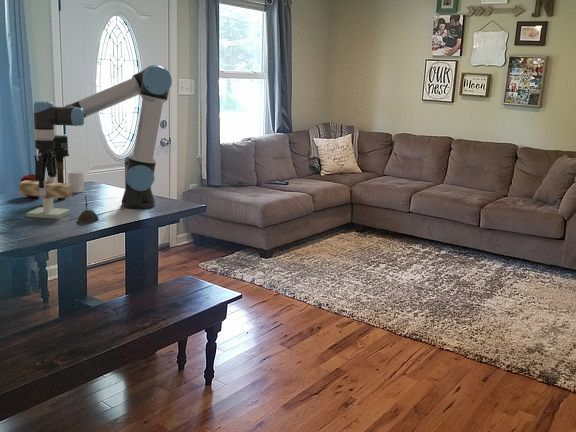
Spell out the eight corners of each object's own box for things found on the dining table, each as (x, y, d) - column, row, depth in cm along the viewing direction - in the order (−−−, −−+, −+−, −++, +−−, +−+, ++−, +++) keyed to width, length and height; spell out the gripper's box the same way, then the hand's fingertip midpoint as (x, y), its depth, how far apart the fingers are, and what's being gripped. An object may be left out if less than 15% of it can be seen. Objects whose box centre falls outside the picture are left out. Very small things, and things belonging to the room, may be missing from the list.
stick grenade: (64, 202, 277) (61, 137, 270) (48, 200, 279) (44, 136, 271) (74, 198, 285) (72, 136, 278) (58, 197, 287) (55, 134, 279)
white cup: (64, 191, 298) (63, 172, 296) (75, 189, 305) (75, 170, 303) (77, 193, 295) (76, 174, 293) (88, 191, 302) (87, 171, 300)
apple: (21, 195, 286) (19, 171, 283) (45, 194, 290) (43, 171, 287) (21, 200, 276) (19, 175, 273) (45, 199, 280) (44, 175, 277)
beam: (72, 195, 255) (72, 183, 254) (66, 198, 249) (66, 186, 248) (26, 191, 255) (25, 180, 254) (19, 194, 249) (19, 182, 248)
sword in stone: (82, 217, 252) (82, 190, 249) (100, 219, 252) (101, 192, 249) (73, 223, 243) (73, 195, 240) (92, 225, 242) (93, 197, 240)
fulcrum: (70, 212, 259) (69, 195, 257) (58, 218, 248) (57, 201, 246) (39, 210, 260) (38, 193, 258) (26, 216, 249) (25, 199, 248)
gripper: (47, 136, 256) (49, 188, 261) (23, 141, 237) (26, 197, 243) (64, 137, 255) (66, 189, 261) (41, 142, 237) (44, 198, 242)
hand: (47, 193), depth 252 cm, fingers closed on beam, 6 cm apart
